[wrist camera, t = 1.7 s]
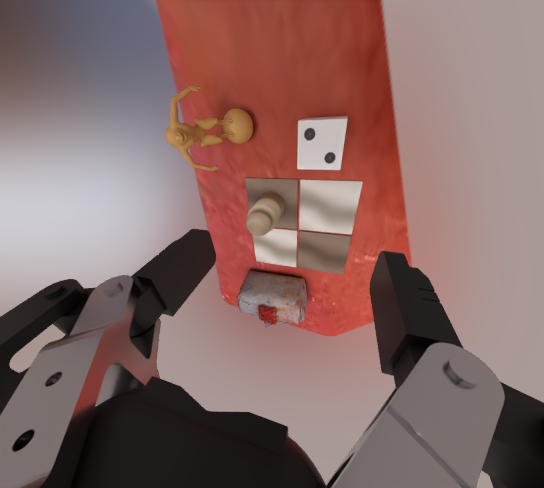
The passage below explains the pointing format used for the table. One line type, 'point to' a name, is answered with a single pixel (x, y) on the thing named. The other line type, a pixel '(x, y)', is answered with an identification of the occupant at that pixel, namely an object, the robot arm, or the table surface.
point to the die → (321, 142)
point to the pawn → (265, 214)
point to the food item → (273, 297)
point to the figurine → (186, 136)
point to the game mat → (308, 222)
